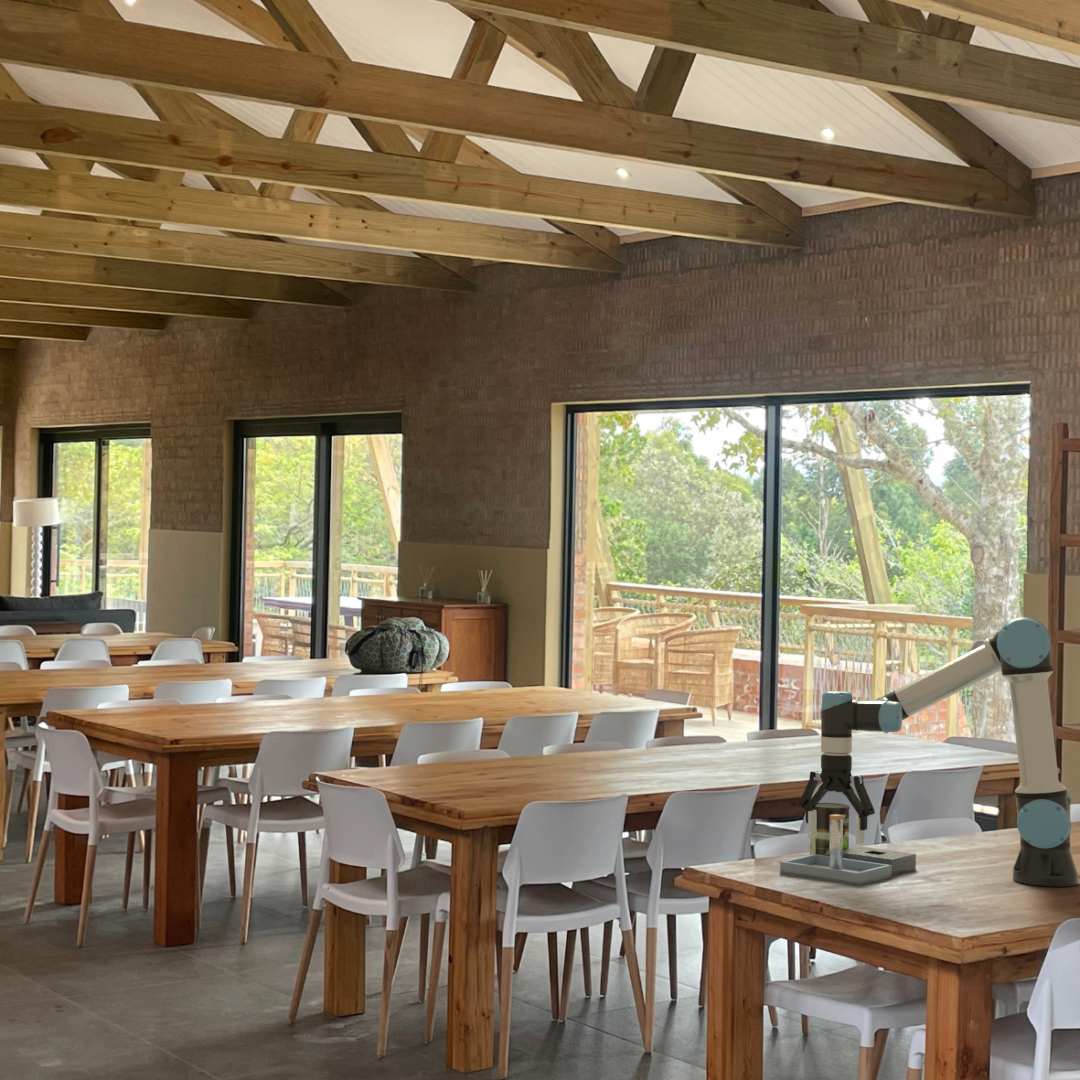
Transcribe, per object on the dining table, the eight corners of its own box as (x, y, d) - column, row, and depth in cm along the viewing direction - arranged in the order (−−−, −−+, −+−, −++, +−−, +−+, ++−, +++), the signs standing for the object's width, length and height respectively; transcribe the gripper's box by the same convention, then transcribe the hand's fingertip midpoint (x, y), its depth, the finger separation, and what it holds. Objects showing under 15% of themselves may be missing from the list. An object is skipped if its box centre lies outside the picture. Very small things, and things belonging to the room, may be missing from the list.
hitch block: (915, 869, 377) (915, 853, 378) (892, 875, 369) (892, 859, 369) (859, 861, 388) (860, 846, 388) (835, 867, 379) (835, 851, 379)
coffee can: (857, 860, 390) (857, 806, 391) (827, 863, 385) (827, 808, 386) (830, 854, 399) (831, 801, 400) (801, 857, 394) (801, 803, 394)
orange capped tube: (845, 872, 368) (845, 815, 369) (838, 874, 366) (838, 816, 366) (833, 870, 370) (834, 814, 371) (826, 872, 368) (827, 815, 368)
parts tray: (891, 877, 366) (891, 865, 367) (858, 886, 355) (858, 873, 355) (814, 865, 381) (814, 854, 381) (780, 873, 369) (780, 861, 369)
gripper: (888, 756, 364) (888, 844, 363) (801, 748, 380) (801, 832, 379) (873, 758, 358) (872, 847, 357) (785, 750, 375) (784, 835, 374)
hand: (835, 840), depth 368 cm, fingers open, 13 cm apart
